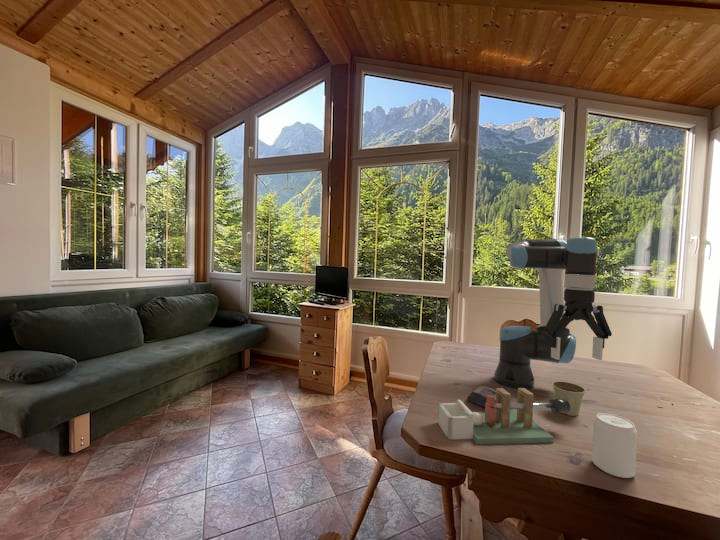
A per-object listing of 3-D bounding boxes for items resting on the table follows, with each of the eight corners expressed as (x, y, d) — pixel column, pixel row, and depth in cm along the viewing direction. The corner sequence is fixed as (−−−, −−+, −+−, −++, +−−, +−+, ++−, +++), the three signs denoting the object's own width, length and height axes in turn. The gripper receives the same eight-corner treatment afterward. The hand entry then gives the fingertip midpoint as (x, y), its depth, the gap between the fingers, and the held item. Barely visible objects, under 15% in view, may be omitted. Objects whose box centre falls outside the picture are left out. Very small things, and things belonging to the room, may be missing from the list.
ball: (478, 421, 92) (479, 409, 92) (484, 428, 88) (485, 415, 88) (467, 421, 92) (467, 409, 91) (472, 428, 88) (473, 416, 88)
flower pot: (574, 421, 97) (575, 394, 97) (544, 408, 105) (546, 383, 105) (590, 415, 101) (591, 389, 101) (560, 403, 109) (561, 379, 109)
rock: (464, 405, 106) (465, 389, 106) (470, 393, 116) (471, 379, 116) (510, 416, 99) (511, 400, 99) (513, 403, 109) (513, 388, 108)
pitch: (522, 416, 99) (522, 412, 98) (553, 442, 85) (553, 437, 85) (456, 417, 97) (456, 413, 97) (477, 444, 83) (477, 438, 83)
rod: (560, 418, 94) (561, 393, 94) (569, 424, 90) (570, 398, 90) (484, 419, 92) (485, 393, 92) (490, 426, 88) (491, 399, 88)
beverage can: (583, 458, 78) (585, 412, 78) (612, 457, 79) (615, 411, 78) (612, 481, 70) (614, 429, 70) (644, 480, 71) (647, 428, 70)
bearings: (522, 420, 93) (524, 387, 93) (532, 428, 89) (533, 394, 89) (494, 420, 93) (496, 388, 92) (502, 428, 88) (504, 394, 88)
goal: (459, 422, 94) (460, 399, 94) (472, 438, 85) (473, 414, 85) (437, 422, 94) (438, 399, 93) (448, 439, 85) (449, 414, 84)
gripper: (606, 288, 97) (603, 355, 97) (532, 286, 95) (529, 354, 95) (629, 291, 90) (625, 362, 90) (548, 288, 88) (545, 362, 88)
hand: (576, 358), depth 93 cm, fingers open, 13 cm apart
